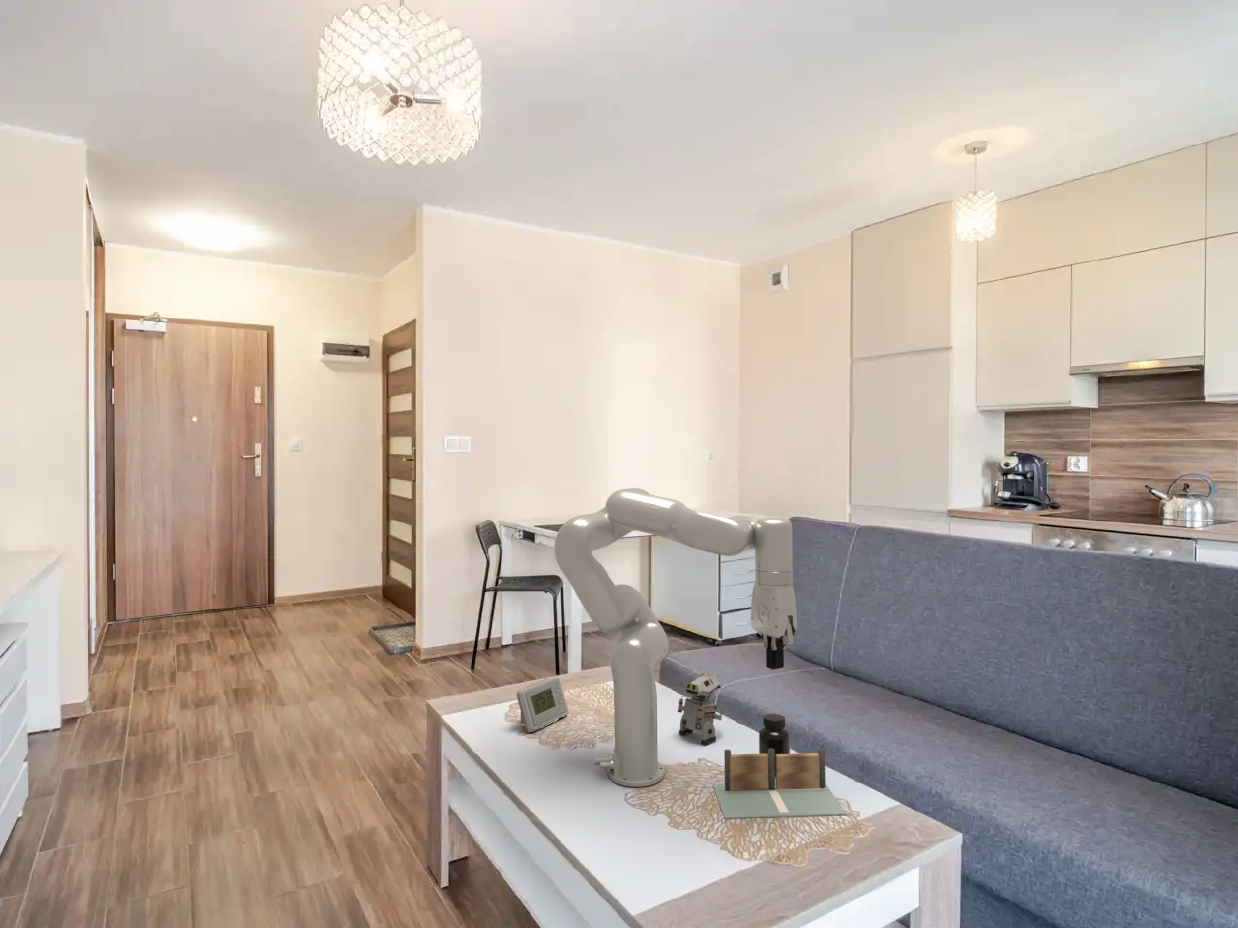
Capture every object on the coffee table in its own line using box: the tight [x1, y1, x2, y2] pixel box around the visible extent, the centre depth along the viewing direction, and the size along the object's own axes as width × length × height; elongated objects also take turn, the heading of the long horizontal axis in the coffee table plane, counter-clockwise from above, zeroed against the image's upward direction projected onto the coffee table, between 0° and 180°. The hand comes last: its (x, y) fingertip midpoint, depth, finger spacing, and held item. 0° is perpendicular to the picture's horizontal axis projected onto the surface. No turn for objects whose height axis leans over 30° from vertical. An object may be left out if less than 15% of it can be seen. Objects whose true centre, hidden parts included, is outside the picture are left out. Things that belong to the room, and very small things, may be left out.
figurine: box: [677, 672, 723, 746], centre depth 174 cm, size 9×12×15 cm
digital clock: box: [516, 675, 569, 734], centre depth 185 cm, size 16×9×11 cm, turn 134°
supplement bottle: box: [758, 713, 791, 777], centre depth 155 cm, size 7×7×12 cm
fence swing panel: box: [723, 749, 776, 791], centre depth 145 cm, size 11×1×8 cm, turn 92°
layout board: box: [713, 783, 848, 820], centre depth 141 cm, size 24×13×1 cm, turn 92°
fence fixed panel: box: [775, 747, 827, 790], centre depth 146 cm, size 10×1×8 cm, turn 92°
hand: (775, 667), depth 141 cm, fingers closed
